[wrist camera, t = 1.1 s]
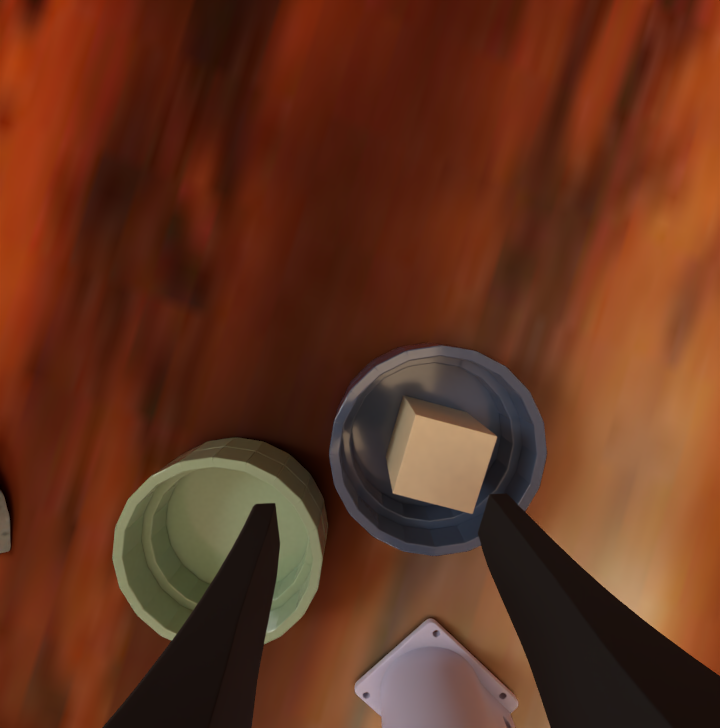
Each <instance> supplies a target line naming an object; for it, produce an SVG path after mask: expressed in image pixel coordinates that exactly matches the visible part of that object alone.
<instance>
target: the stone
mask: <svg viewBox="0 0 720 728" xmlns="http://www.w3.org/2000/svg"><path fill="white" fill-rule="evenodd" d="M10 547H11V543H10V518H9V512H8V509H7V506H6V501H5V498H4V495H3V493H2V491H1V490H0V553H3V552H8V551H10Z"/></svg>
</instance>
